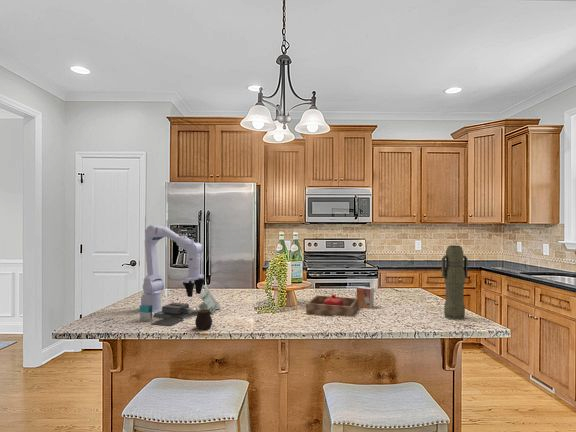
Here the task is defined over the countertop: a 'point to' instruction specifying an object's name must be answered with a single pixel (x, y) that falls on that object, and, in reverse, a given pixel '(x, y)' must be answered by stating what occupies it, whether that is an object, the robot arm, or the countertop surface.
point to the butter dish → (333, 301)
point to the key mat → (167, 322)
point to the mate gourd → (203, 319)
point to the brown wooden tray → (332, 306)
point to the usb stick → (146, 312)
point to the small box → (365, 297)
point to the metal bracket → (208, 300)
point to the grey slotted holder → (176, 308)
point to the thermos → (454, 282)
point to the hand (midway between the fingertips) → (194, 295)
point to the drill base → (175, 315)
